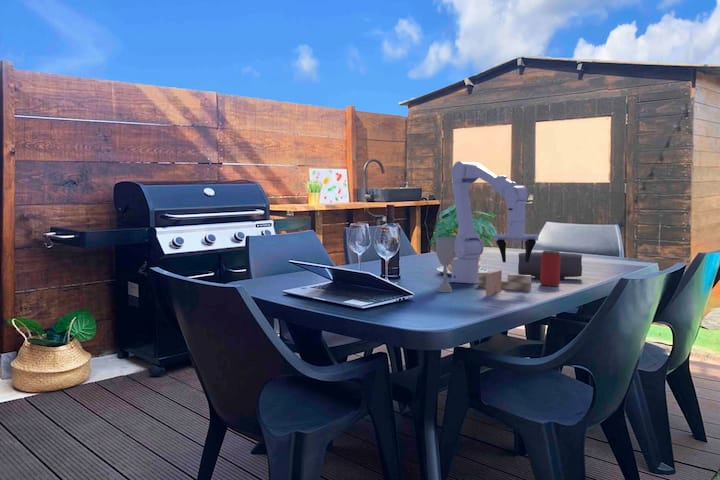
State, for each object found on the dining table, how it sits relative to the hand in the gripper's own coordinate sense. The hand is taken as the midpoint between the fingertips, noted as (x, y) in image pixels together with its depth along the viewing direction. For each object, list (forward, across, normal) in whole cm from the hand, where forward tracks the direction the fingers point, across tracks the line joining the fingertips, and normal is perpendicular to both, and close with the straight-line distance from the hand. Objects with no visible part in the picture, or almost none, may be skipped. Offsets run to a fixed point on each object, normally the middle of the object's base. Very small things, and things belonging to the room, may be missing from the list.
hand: (515, 262), depth 206 cm
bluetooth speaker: (+10, +19, +26) cm, 34 cm away
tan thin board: (+10, -8, -6) cm, 14 cm away
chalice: (+10, -24, -1) cm, 26 cm away
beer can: (+10, +14, +10) cm, 20 cm away
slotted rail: (+10, -3, +4) cm, 11 cm away
